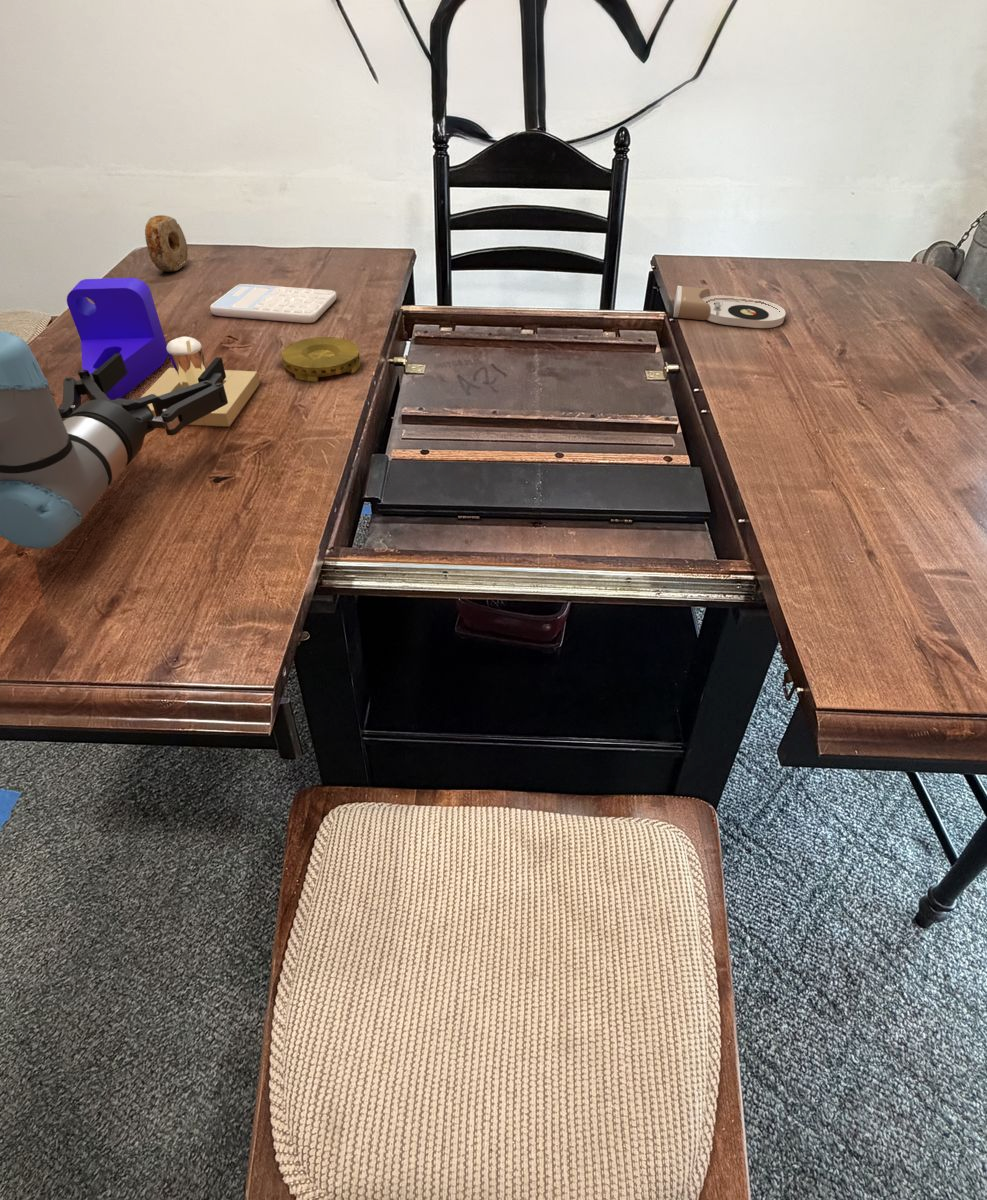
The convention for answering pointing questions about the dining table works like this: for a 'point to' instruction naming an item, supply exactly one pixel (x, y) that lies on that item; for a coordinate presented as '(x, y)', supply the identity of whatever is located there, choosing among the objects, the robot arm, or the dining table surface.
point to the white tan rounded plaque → (726, 309)
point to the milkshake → (186, 359)
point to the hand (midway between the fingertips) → (171, 365)
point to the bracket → (118, 328)
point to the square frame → (236, 389)
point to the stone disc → (166, 243)
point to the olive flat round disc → (321, 357)
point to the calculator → (274, 303)
